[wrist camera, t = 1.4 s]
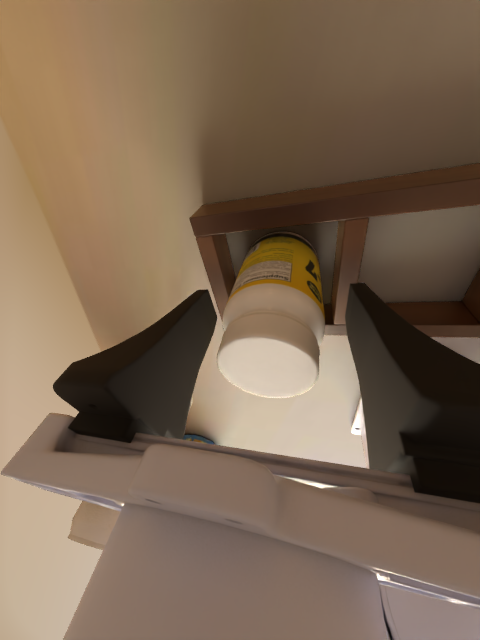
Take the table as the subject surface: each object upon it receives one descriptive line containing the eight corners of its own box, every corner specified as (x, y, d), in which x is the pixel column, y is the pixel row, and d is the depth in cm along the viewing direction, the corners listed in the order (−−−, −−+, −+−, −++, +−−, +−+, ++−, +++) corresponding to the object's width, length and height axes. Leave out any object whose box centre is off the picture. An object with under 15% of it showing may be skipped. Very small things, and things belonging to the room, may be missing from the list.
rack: (473, 313, 14) (493, 338, 13) (232, 315, 19) (225, 334, 17) (576, 147, 9) (634, 156, 7) (202, 205, 13) (188, 218, 12)
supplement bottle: (319, 292, 16) (330, 408, 10) (253, 297, 17) (225, 401, 11) (317, 221, 13) (330, 325, 7) (237, 235, 14) (188, 330, 8)
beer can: (145, 371, 28) (48, 533, 18) (192, 381, 27) (120, 556, 17) (156, 395, 32) (82, 538, 22) (196, 404, 32) (141, 557, 21)
